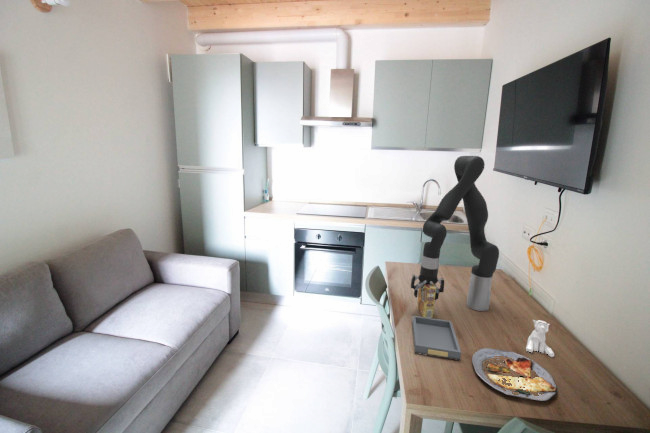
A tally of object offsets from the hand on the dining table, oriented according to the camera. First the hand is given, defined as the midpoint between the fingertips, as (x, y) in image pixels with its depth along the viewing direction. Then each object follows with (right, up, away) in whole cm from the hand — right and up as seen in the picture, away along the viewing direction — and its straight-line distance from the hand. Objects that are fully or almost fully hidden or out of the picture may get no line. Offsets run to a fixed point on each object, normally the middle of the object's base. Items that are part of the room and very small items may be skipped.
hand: (425, 298), depth 142 cm
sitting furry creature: (+37, -15, -21) cm, 45 cm away
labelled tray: (-2, -12, -18) cm, 22 cm away
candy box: (0, -8, +2) cm, 8 cm away
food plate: (+18, -18, -36) cm, 44 cm away
